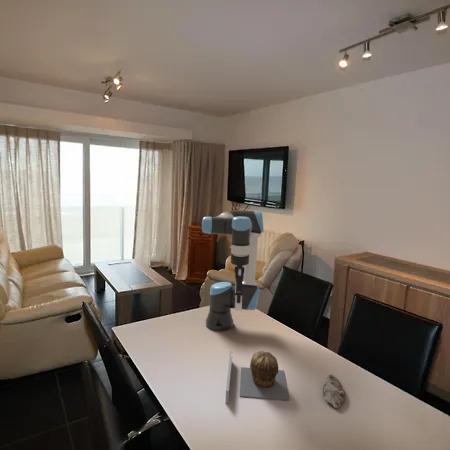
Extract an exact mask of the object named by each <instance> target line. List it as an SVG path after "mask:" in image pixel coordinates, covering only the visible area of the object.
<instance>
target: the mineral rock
mask: <svg viewBox="0 0 450 450" xmlns="http://www.w3.org/2000/svg"><path fill="white" fill-rule="evenodd" d="M322 395H323V397H324V400H325V401H326V402H328V403H330V404H331V405H332V406H333V407H334V408H336V409H339V408H340V407H341V406H342V404H343V402H344V401H345V399H346V391H345V389H344V386H343V384H342V383H341V381H340V380H339V379H338V378H337V377H336V376H335V375H333V374H329V375H327V376H326V380H325V383H324V384H323V387H322Z"/></svg>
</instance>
